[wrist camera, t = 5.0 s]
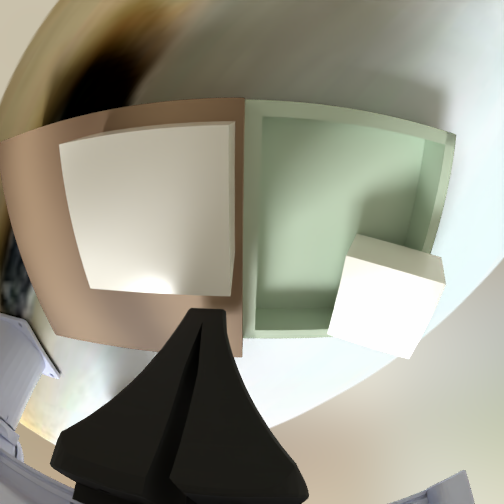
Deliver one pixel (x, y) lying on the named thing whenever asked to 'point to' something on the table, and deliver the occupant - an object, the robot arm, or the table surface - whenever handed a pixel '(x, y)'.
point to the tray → (329, 204)
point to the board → (64, 242)
